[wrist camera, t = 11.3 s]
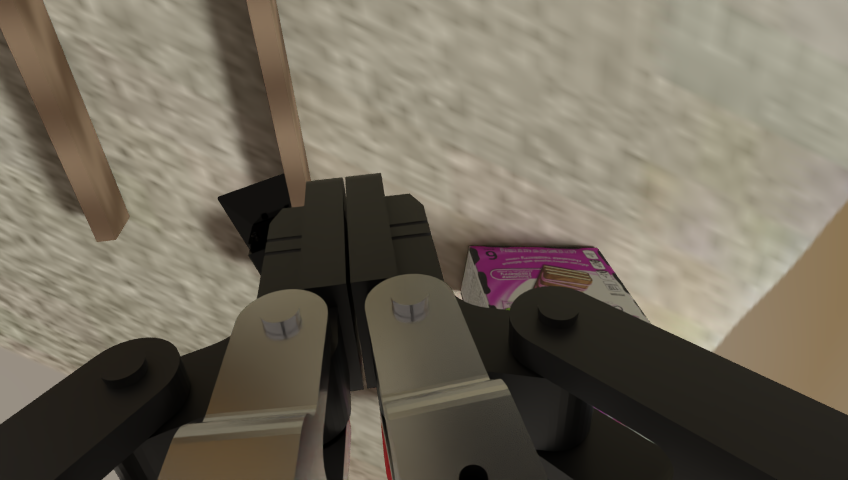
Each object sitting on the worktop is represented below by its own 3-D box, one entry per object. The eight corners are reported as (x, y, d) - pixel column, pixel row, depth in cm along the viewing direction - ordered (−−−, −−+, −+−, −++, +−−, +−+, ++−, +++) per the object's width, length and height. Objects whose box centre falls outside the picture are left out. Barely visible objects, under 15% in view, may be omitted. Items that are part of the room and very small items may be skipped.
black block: (359, 278, 46) (361, 315, 42) (275, 307, 47) (270, 347, 43) (291, 146, 39) (287, 176, 35) (194, 181, 40) (179, 215, 36)
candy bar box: (599, 242, 46) (709, 395, 33) (584, 291, 49) (680, 452, 35) (465, 240, 45) (523, 402, 31) (457, 291, 47) (507, 461, 34)
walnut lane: (-13, -75, 30) (-44, -71, 27) (257, -97, 31) (250, -95, 28) (112, 218, 40) (97, 241, 37) (313, 194, 41) (312, 215, 38)
